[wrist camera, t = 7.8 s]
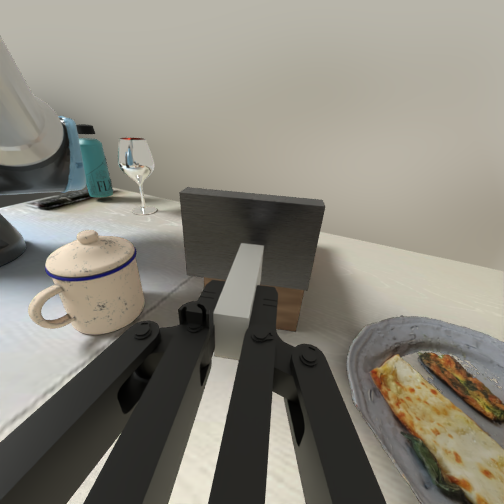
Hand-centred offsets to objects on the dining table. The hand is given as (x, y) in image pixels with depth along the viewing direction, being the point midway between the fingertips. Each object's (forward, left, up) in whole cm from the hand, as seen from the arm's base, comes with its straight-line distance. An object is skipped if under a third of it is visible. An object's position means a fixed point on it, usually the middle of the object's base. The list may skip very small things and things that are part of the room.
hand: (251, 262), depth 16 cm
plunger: (+4, +6, -6) cm, 9 cm away
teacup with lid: (-11, +18, -16) cm, 26 cm away
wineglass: (+2, +57, -16) cm, 59 cm away
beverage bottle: (-7, +72, -16) cm, 74 cm away
